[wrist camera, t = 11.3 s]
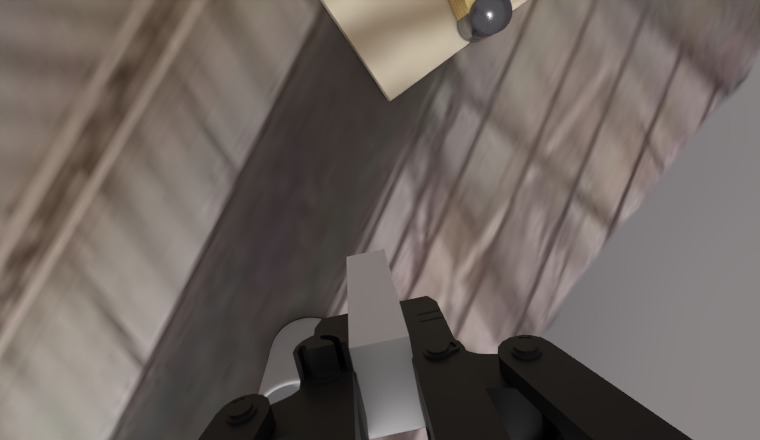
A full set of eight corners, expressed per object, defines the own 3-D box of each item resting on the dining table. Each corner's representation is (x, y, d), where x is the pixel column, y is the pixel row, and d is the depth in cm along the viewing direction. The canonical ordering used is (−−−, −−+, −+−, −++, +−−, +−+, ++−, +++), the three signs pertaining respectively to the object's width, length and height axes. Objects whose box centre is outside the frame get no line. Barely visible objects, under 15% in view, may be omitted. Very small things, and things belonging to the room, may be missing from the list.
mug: (309, 301, 45) (298, 360, 35) (365, 349, 47) (372, 419, 37) (233, 374, 47) (201, 452, 36) (291, 418, 49) (277, 504, 38)
